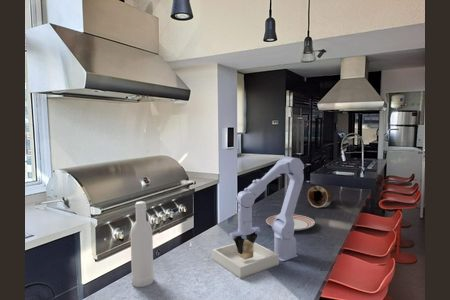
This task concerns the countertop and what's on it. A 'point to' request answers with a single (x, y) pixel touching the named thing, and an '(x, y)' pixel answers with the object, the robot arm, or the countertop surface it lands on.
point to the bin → (241, 267)
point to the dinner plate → (296, 222)
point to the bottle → (141, 248)
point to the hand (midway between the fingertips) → (244, 251)
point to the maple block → (247, 250)
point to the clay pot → (320, 196)
